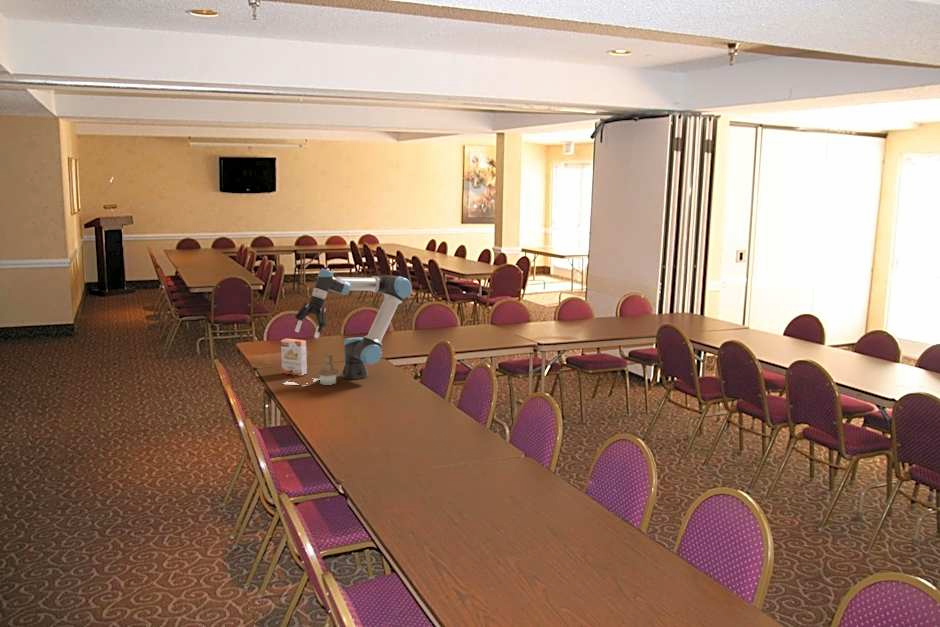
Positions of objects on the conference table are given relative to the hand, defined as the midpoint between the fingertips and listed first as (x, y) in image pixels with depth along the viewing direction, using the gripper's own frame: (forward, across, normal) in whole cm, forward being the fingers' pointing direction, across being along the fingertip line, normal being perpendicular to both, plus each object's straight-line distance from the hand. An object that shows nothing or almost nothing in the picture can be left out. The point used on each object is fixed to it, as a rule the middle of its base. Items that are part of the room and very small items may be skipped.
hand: (306, 335), depth 416 cm
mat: (+26, -12, +24) cm, 37 cm away
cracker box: (+25, -28, +36) cm, 51 cm away
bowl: (+23, +3, +28) cm, 36 cm away
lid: (+17, +2, +25) cm, 31 cm away
